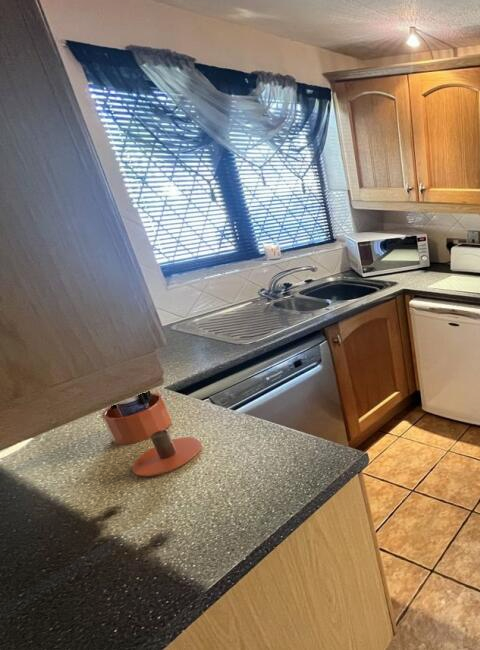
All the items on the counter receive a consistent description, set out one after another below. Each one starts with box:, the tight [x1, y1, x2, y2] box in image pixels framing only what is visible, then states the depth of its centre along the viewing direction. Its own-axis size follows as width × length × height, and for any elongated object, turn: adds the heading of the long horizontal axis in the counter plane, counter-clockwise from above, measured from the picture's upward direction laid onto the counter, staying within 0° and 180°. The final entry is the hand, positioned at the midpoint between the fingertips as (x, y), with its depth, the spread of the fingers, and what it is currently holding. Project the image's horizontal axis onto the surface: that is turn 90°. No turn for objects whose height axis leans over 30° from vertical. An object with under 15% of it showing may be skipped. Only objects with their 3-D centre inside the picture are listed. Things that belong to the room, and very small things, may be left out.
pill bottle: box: [116, 396, 150, 417], centre depth 98 cm, size 5×5×10 cm
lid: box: [131, 429, 202, 477], centre depth 89 cm, size 12×12×7 cm
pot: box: [101, 392, 173, 445], centre depth 99 cm, size 11×11×8 cm
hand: (132, 403), depth 98 cm, fingers closed on pill bottle, 5 cm apart
